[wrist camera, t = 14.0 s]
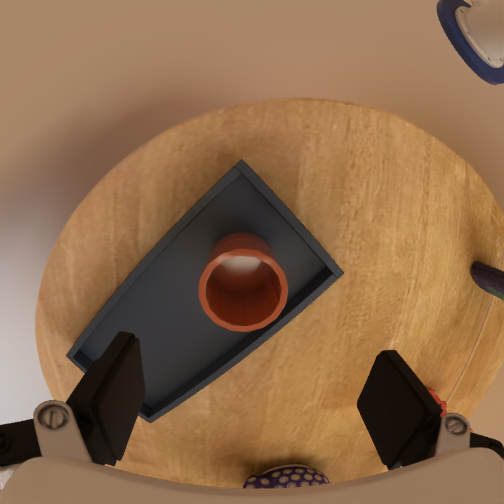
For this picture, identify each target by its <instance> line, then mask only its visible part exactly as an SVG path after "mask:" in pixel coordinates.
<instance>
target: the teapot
mask: <svg viewBox="0 0 504 504" xmlns="http://www.w3.org/2000/svg"><path fill="white" fill-rule="evenodd" d="M323 484H330V481H329V480H328V478H327V477H326V476H325V475H324V474H323V473H322V472H320V471H318V470H315V469H312V468H310V467H308V466H306V465H301V464H290V465H283V466H278V467H275V468H272V469H269V470H267V471H265V472H264V473H262V474H255V475H252V476H250V477H249V478H248V479H247V480H246V482H245V483H244V485H243V488H244V489H273V488H293V487H305V486H315V485H323Z"/></svg>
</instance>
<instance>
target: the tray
mask: <svg viewBox="0 0 504 504" xmlns="http://www.w3.org/2000/svg"><path fill="white" fill-rule="evenodd" d="M234 232H250V233H253V234H256V235H258V236H260V237H261V238H263V239H264V240H265V241H266V242H267V243H268V244H269V246H270V247H271V249H272V250H273V252H274V254H275V255H276V257H277V259H278V261H279V263H280V265H281V267H282V269H283V271H284V273H285V276H286V280H287V284H288V295H287V300H286V304H285V306H284V308H283V309H282V311H281V313H280V314H279V316H278V317H277V318H276V319H275V320H273V321H272V322H271V323H269V324H268V325H266V326H265V327H263V328H260V329H256V330H253V331H249V332H242V331H231V330H228V329H226V328H224V327H222V326H220V325H218V324H216V323H215V322H214V321H213V320H212V319H211V318H210V317H209V316H208V315H207V314H206V313H205V312H204V310H203V307H202V305H201V302H200V300H199V296H198V292H199V280H200V277H201V274H202V272H203V269H204V267H205V264H206V262H207V259H208V257H209V255H210V253H211V251H212V249H213V247H214V245H215V244H216V243H217V242H218V241H219V240H220V239H221V238H223V237H224V236H226V235H228V234H231V233H234ZM343 274H344V272H343V271H342V270H341V269H340V267H339V266H338V265H337V264H336V263H335V261H334V260H333V259H332V258H331V257H330V255H329V254H328V253H327V252H326V251H325V250H324V248H323V247H322V246H321V245H320V244H319V243H318V241H317V240H316V239H315V238H314V237H313V236H312V234H311V233H310V232H309V231H308V230H307V229H306V228H305V227H304V225H303V224H302V223H301V222H300V221H299V220H298V219H297V218H296V216H295V215H294V214H293V213H292V212H291V211H290V210H289V209H288V208H287V206H286V205H285V204H284V203H283V202H282V201H281V200H280V199H279V198H278V197H277V196H276V194H275V193H274V192H273V191H272V190H271V189H270V188H269V187H268V186H267V185H266V184H265V183H264V182H263V181H262V180H261V178H260V177H259V176H258V175H257V174H256V173H255V172H254V171H253V170H252V169H251V168H250V167H249V166H248V165H247V164H246V163H245V162H244V161H243V160H242V159H241V160H240V161H239V162H238V163H237V164H236V165H235V166H234V167H233V168H232V169H231V170H230V171H228V172H227V173H226V174H225V175H224V176H223V177H222V178H221V179H220V180H219V181H218V182H217V183H216V184H215V185H214V186H213V187H212V188H211V189H210V190H209V191H208V192H207V193H206V194H205V195H204V196H203V197H202V198H201V199H200V200H199V201H198V202H197V203H196V204H195V205H194V206H193V207H192V208H191V209H190V210H189V211H188V212H187V213H186V214H185V215H184V216H183V217H182V218H181V219H180V220H179V221H178V222H177V223H176V224H175V225H174V226H173V227H172V228H171V229H170V230H169V232H168V233H167V234H166V235H165V236H164V237H163V238H162V239H161V240H160V241H159V242H158V243H157V244H156V246H155V247H154V248H153V249H152V250H151V251H150V252H149V253H148V254H147V256H146V257H145V258H144V259H143V260H142V261H141V262H140V263H139V265H138V266H137V267H136V268H135V269H134V270H133V271H132V273H131V274H130V275H129V276H128V277H127V278H126V280H125V281H124V282H123V283H122V284H121V285H120V287H119V288H118V289H117V290H116V291H115V293H114V294H113V295H112V296H111V297H110V299H109V300H108V301H107V302H106V304H105V305H104V306H103V307H102V309H101V310H100V311H99V312H98V314H97V315H96V316H95V317H94V319H93V320H92V321H91V322H90V324H89V325H88V326H87V328H86V329H85V330H84V332H83V333H82V334H81V336H80V337H79V338H78V340H77V341H76V342H75V344H74V345H73V346H72V348H71V349H70V350H69V352H68V353H67V355H66V356H67V357H68V358H69V359H70V360H71V361H72V362H73V363H74V364H75V365H76V366H77V367H78V368H79V369H80V370H81V371H83V372H84V373H86V372H87V370H88V369H89V367H90V366H91V365H92V363H93V362H94V361H95V360H96V359H100V357H101V356H102V354H103V353H104V351H105V350H106V349H107V347H108V346H109V344H110V343H111V342H112V340H113V339H114V338H115V336H116V335H117V333H118V332H119V331H124V332H129V333H134V334H135V337H136V338H139V340H140V349H141V358H142V367H143V374H144V382H145V389H146V393H145V398H144V401H143V403H142V406H141V408H140V411H139V414H138V416H140V417H141V418H143V419H144V420H146V421H147V422H149V423H152V422H153V421H155V420H156V419H158V418H160V417H161V416H163V415H164V414H166V413H167V412H169V411H170V410H172V409H174V408H175V407H177V406H178V405H180V404H181V403H183V402H184V401H186V400H187V399H188V398H190V397H191V396H193V395H194V394H196V393H197V392H199V391H200V390H201V389H203V388H204V387H206V386H207V385H209V384H210V383H211V382H213V381H214V380H216V379H217V378H218V377H220V376H221V375H222V374H224V373H225V372H226V371H228V370H229V369H231V368H232V367H233V366H235V365H236V364H237V363H238V362H240V361H241V360H242V359H244V358H245V357H246V356H248V355H249V354H250V353H252V352H253V351H254V350H255V349H257V348H258V347H259V346H260V345H262V344H263V343H264V342H265V341H267V340H268V339H269V338H270V337H272V336H273V335H274V334H275V333H277V332H278V331H279V330H280V329H281V328H283V327H284V326H285V325H286V324H287V323H289V322H290V321H291V320H292V319H293V318H295V317H296V316H297V315H298V314H299V313H300V312H302V311H303V310H304V309H305V308H306V307H307V306H309V305H310V304H311V303H312V302H313V301H314V300H315V299H317V298H318V297H319V296H320V295H321V294H322V293H323V292H324V291H325V290H327V289H328V288H329V287H330V286H331V285H332V284H333V283H334V282H335V281H336V280H337V279H339V278H340V277H341V276H342V275H343Z"/></svg>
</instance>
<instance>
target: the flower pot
mask: <svg viewBox="0 0 504 504" xmlns="http://www.w3.org/2000/svg"><path fill="white" fill-rule="evenodd" d="M287 295H288V284H287V280H286V276H285V273H284V271H283V269H282V267H281V265H280V263H279V261H278V259H277V257H276V255H275V254H274V252H273V250H272V249H271V247H270V246H269V244H268V243H267V242H266V241H265V240H264V239H263V238H261V237H260V236H258V235H256V234H253V233H250V232H234V233H231V234H228V235H226V236H224V237H223V238H221V239H220V240H219V241H218V242H217V243H216V244H215V245H214V247H213V249H212V251H211V253H210V255H209V257H208V259H207V262H206V264H205V267H204V269H203V272H202V274H201V277H200V280H199V292H198V296H199V300H200V302H201V305H202V307H203V310H204V312H205V313H206V314H207V315H208V316H209V317H210V318H211V319H212V320H213V321H214V322H215V323H216V324H218V325H220V326H222V327H224V328H226V329H228V330H231V331H242V332H249V331H253V330H256V329H260V328H263V327H265V326H266V325H268V324H269V323H271V322H272V321H273V320H275V319H276V318H277V317H278V316H279V314H280V313H281V311H282V309H283V308H284V306H285V304H286V300H287Z"/></svg>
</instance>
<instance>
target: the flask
mask: <svg viewBox="0 0 504 504" xmlns="http://www.w3.org/2000/svg"><path fill="white" fill-rule="evenodd" d="M470 272H471V276H472V278H473V280H474V281H475V283H476V284H477V285H478V286H479V287H480V288H482V289H484V290H485V291H487V292H489V293H490V294H492V295H494V296H496V297H498V298H500V299H502V300H504V272H503V271H501V270H499V269H496V268H494V267H491V266H489V265H486V264H484V263H482V262H479V261H475V262H473V265H472V267H471V271H470Z"/></svg>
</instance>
